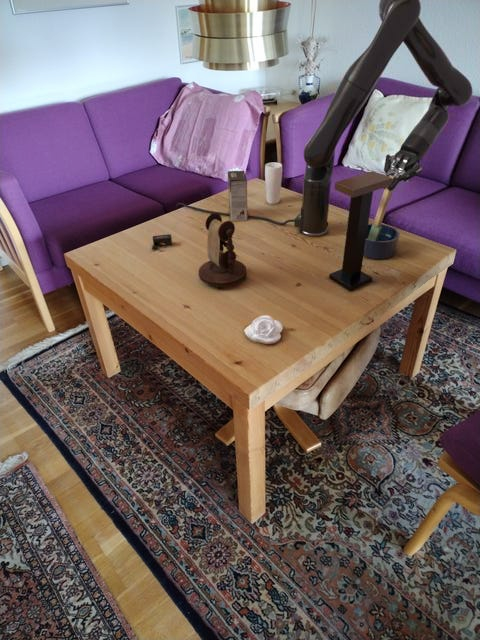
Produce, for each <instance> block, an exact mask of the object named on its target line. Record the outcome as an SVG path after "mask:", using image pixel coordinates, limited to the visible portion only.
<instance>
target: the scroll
mask: <svg viewBox="0 0 480 640" xmlns="http://www.w3.org/2000/svg"><path fill="white" fill-rule="evenodd" d="M205 228H206V231H207V258H208V261H206V262H203V264H201V265H200V267H199V268H198V277H199V280H201V282H202V283H205V284H207V285H209V286H214V287H216V288H217V290H220V289H221V287H229V286H233V285H237V284H239V283H241V282H242V281H243V280H245V279H246V277H247V271H248V269H247V266H246V264H244V263H243V262H241V261H240V260H238V259H237V253H236V252H235V251H234V250H235V246H234V244H233V243H234V241H233V237H234V236H233V235H234V233H235V230H236V226H235V223H234V221H231V220H226V221H223V218H222V215H219V214H218V213H213V214H212V213H210V214H209V215H208V216H207V218H206V220H205ZM225 248H226V251H224V249H225Z"/></svg>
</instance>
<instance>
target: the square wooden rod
mask: <svg viewBox="0 0 480 640" xmlns="http://www.w3.org/2000/svg"><path fill="white" fill-rule="evenodd" d="M395 176H396V175H395ZM395 176H393V175H389V177H390V178H392V179H393V178H394V177H395ZM393 191H394V189H393V190H392V191H389V190H388V189H387V187H385V189H384V190H383V193H382V196H381V199H380V202H379V205H378V208H377V211H376V215H375V217H374V221H373V223H371V224H372V227H371V230H370V233H369V236H368V239H369V240H373V241H378V238H379V235H380V232H381V229H382V227H380V226H381V224H383V221H384V217H385V215H386V212H387V209H388V205H389V202H390V200H391V197H392V194H393Z"/></svg>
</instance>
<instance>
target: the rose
mask: <svg viewBox="0 0 480 640" xmlns="http://www.w3.org/2000/svg"><path fill="white" fill-rule="evenodd" d="M282 331H283V324H282V323H281V322H280V321H279V320H276V319H274V318H273V317H272V316H271V315H260V316H258V317H256V318H255V319H253V321H252V322H251V324H249V325H248V326H247V327H245V329H244V334H245V335H246V338H249V340H251V341H252V342H254V343H261V344H265V345H271V344H275V343H277V342H279V341H280V340H281V337H282V335H281V332H282Z"/></svg>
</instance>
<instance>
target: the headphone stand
mask: <svg viewBox="0 0 480 640" xmlns="http://www.w3.org/2000/svg"><path fill="white" fill-rule="evenodd" d="M391 183H392V178H390V177H388V176H386V174H382V173H379V172H377V171H374V170H370V171H368V172H365V173H362V174H361V173H360V174H357V175H354V176H352V177H348V178H344V179H342V180H337V181H335V182H334V188H333V190H334V191H337V192H339V193H342V194H344V195H346V196H347V197H350V201H349V209H348V218H347V224H346V225H347V226H346V232H345V233H346V234H345V242H344V248H343V249H344V250H343V258H342V267H341V269H338V270H336V271H334V272H333V271H332V272H331V273H329V276H328V278H329V279H330V280H331V281H333V282H335V283H336V284H338V285H339V286H341V287H342V288H344V289H346V290H347V291H349V292H351V291H354V290H356V289H358V288H361V287H363V286H366V285H368V284H370V283H372V282H373V277H372V276H371V275H369V274H367V273H365V272H364V271H362V269H363V268H362V267H363V261H364V256H363V255H364V249H365V242H366V235H367V229H368V224H369V221H370V214H371V208H372V201H373V195H374V192H375V191H378V190H381V189H384V187H387V186H391Z"/></svg>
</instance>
